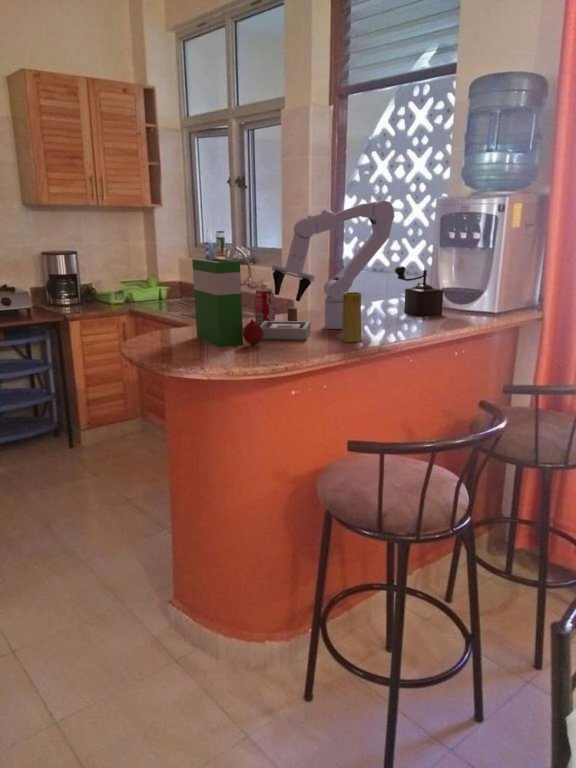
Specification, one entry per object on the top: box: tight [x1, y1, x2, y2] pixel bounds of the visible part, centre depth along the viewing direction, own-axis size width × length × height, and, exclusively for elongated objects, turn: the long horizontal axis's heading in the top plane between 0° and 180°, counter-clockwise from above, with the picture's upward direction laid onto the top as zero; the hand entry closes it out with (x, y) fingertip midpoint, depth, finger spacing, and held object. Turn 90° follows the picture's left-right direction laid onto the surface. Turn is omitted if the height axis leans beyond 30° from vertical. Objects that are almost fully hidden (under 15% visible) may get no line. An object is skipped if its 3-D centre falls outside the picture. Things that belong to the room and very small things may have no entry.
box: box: [260, 320, 311, 342], centre depth 177 cm, size 15×13×4 cm
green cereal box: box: [191, 257, 244, 348], centre depth 169 cm, size 18×7×24 cm, turn 31°
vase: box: [340, 291, 363, 343], centre depth 167 cm, size 6×6×14 cm
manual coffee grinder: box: [394, 265, 444, 318], centre depth 211 cm, size 16×11×18 cm
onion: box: [243, 318, 263, 347], centre depth 163 cm, size 6×6×8 cm
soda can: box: [253, 288, 276, 325], centre depth 197 cm, size 7×7×12 cm
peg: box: [286, 307, 298, 321], centre depth 187 cm, size 3×3×7 cm
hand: (287, 297), depth 186 cm, fingers open, 7 cm apart
